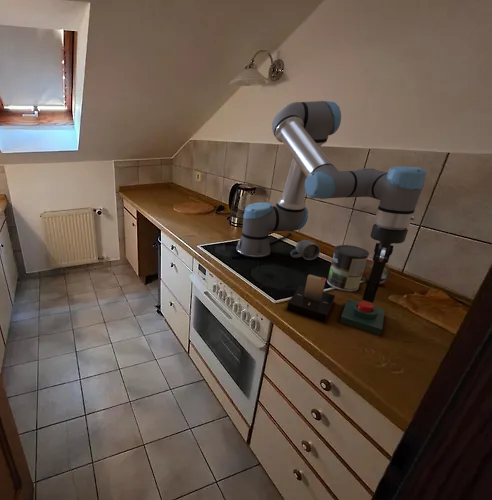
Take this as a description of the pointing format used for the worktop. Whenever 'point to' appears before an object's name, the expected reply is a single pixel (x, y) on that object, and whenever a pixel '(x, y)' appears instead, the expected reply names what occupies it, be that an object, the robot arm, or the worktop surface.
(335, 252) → the coffee can
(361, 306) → the button
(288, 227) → the robot arm
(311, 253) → the ceramic mug
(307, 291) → the tan upright slab
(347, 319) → the block
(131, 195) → the worktop surface
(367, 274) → the tin
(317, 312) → the black rectangular base
